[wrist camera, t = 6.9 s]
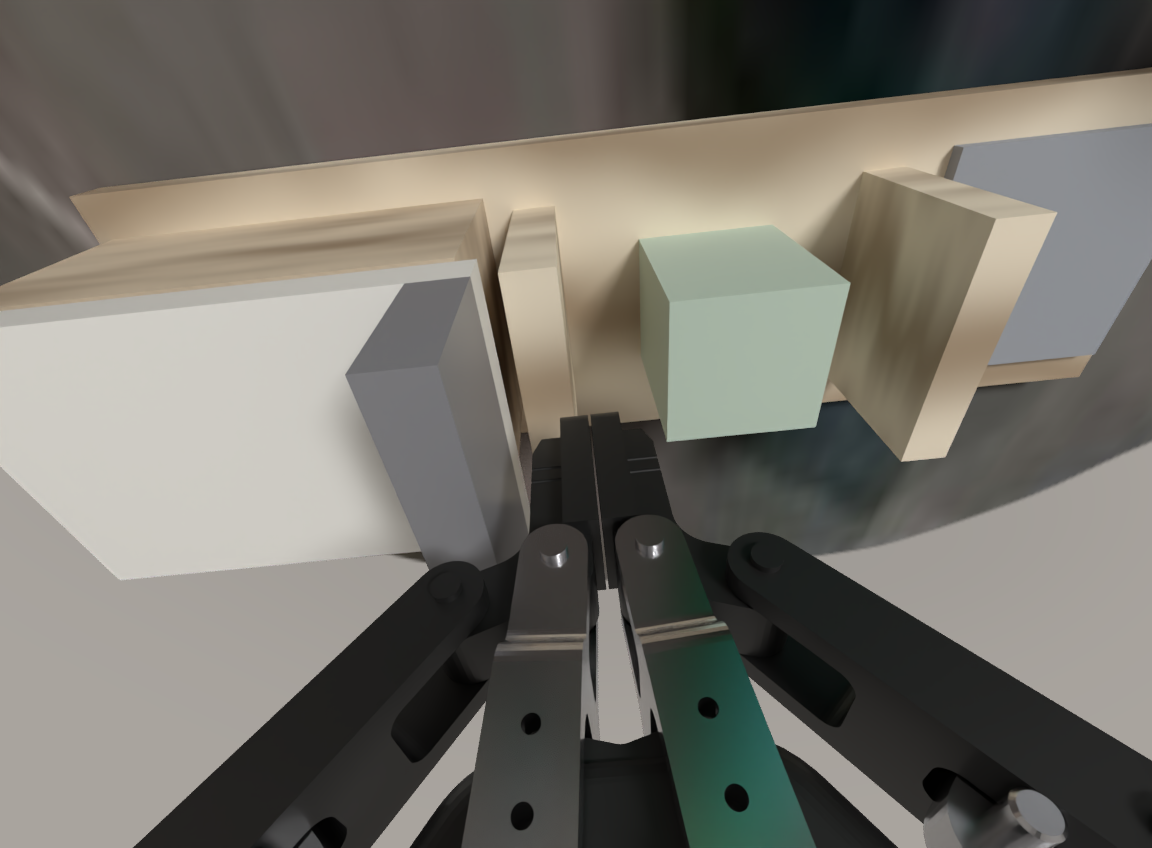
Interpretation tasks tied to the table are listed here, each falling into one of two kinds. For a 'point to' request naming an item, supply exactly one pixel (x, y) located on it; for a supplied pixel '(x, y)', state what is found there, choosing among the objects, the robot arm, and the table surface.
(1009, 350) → the slate pad
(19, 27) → the table surface
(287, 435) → the slide cover
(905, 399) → the puzzle board
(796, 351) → the sage block
